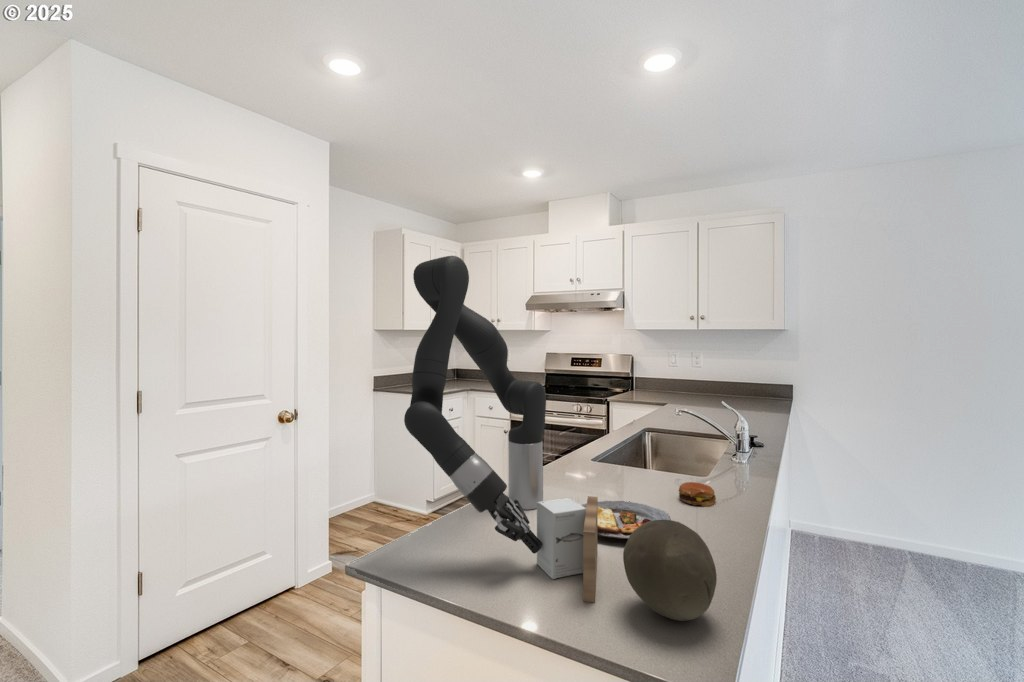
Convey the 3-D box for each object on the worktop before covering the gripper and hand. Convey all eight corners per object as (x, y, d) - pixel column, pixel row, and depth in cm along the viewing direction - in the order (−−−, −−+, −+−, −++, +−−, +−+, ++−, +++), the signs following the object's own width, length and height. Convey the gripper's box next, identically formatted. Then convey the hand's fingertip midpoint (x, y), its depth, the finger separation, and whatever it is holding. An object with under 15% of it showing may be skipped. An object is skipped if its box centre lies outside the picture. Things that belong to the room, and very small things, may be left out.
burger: (697, 494, 143) (697, 477, 143) (723, 504, 134) (723, 487, 134) (670, 498, 139) (670, 482, 139) (695, 509, 130) (695, 492, 130)
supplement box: (552, 580, 92) (552, 513, 92) (536, 563, 99) (535, 500, 99) (587, 573, 95) (587, 508, 95) (568, 557, 102) (568, 496, 102)
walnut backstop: (587, 553, 104) (587, 496, 104) (597, 554, 103) (597, 496, 103) (583, 601, 85) (583, 531, 85) (595, 602, 85) (595, 532, 85)
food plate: (679, 550, 105) (679, 533, 105) (568, 544, 109) (568, 528, 109) (665, 512, 129) (664, 498, 129) (575, 508, 133) (574, 495, 134)
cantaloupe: (694, 591, 88) (694, 507, 88) (731, 640, 74) (732, 540, 74) (615, 593, 88) (615, 508, 88) (638, 642, 74) (638, 542, 74)
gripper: (482, 478, 91) (548, 551, 89) (498, 461, 104) (556, 524, 102) (454, 505, 92) (519, 577, 90) (474, 484, 105) (530, 547, 103)
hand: (538, 549), depth 96 cm, fingers closed
